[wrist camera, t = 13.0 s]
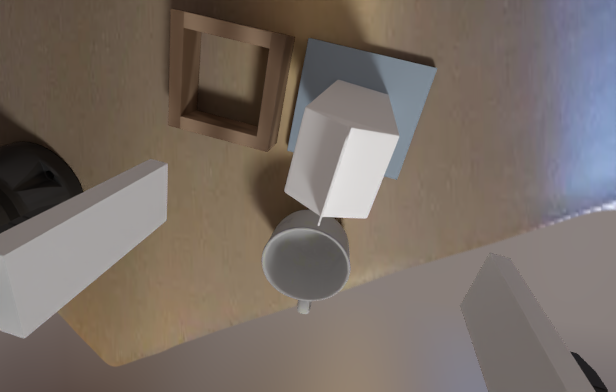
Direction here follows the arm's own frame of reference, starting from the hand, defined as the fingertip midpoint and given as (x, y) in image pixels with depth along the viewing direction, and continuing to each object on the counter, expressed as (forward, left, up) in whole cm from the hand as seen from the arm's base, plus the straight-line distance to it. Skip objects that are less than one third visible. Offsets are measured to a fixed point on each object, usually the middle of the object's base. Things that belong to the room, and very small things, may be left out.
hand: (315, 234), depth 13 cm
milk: (0, 0, -28) cm, 28 cm away
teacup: (-1, -19, -29) cm, 35 cm away
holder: (-15, 0, -28) cm, 32 cm away
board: (0, 0, -28) cm, 28 cm away
